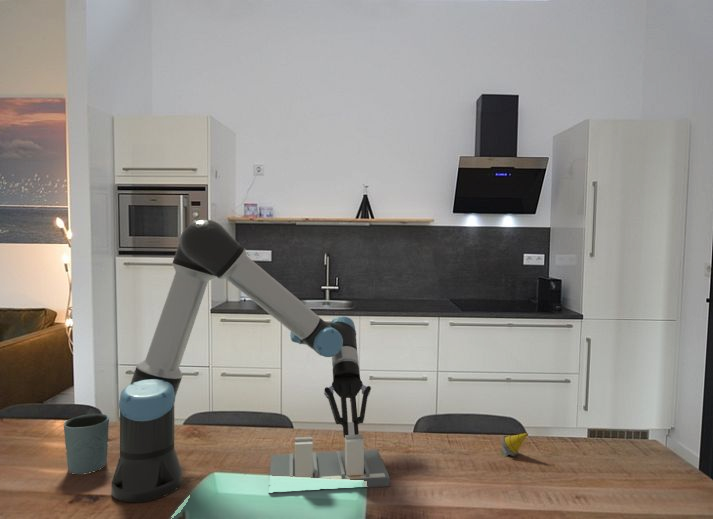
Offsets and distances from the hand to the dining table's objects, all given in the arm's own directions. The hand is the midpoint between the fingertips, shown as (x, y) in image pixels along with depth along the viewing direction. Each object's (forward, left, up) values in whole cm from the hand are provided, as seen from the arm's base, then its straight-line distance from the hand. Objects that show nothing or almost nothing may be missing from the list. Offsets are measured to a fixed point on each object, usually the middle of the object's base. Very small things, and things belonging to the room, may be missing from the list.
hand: (352, 449), depth 119 cm
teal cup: (-66, +11, -6) cm, 67 cm away
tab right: (0, -5, -3) cm, 6 cm away
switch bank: (-6, 0, -6) cm, 8 cm away
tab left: (-12, -5, -3) cm, 13 cm away
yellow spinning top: (+45, +5, -6) cm, 45 cm away
